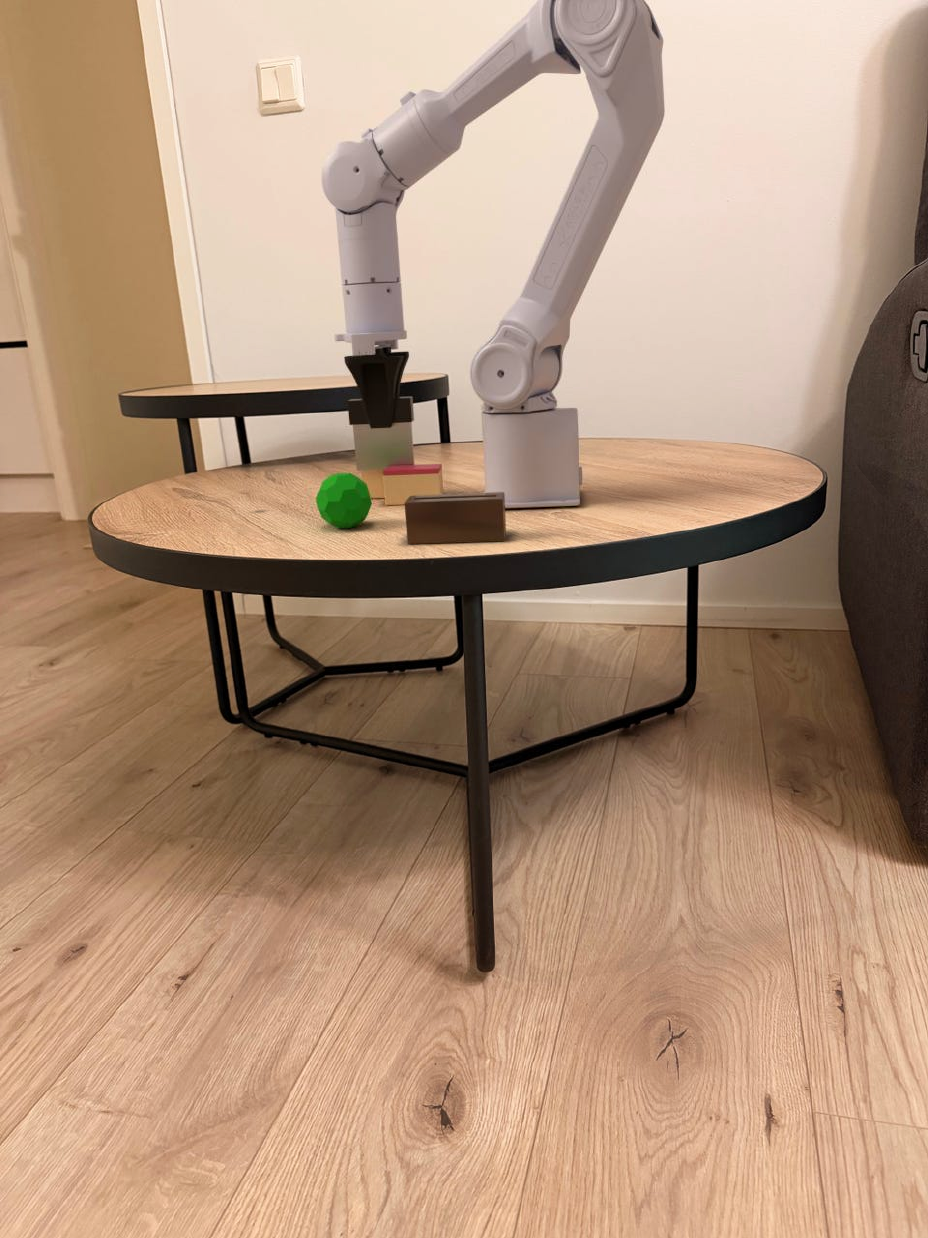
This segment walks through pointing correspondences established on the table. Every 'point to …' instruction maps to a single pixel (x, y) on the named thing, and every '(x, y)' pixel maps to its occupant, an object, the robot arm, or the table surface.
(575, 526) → the table surface
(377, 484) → the cake slice
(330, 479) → the polyhedron
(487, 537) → the knife block
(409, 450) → the beige and brown block
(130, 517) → the table surface
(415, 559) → the table surface
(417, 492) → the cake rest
